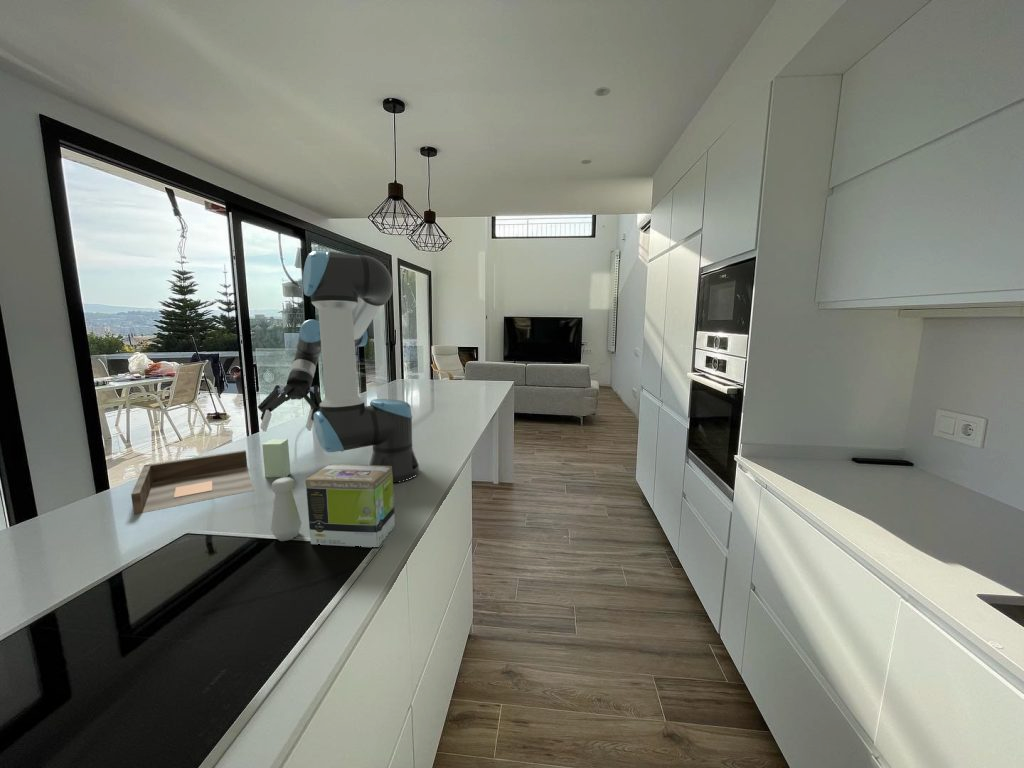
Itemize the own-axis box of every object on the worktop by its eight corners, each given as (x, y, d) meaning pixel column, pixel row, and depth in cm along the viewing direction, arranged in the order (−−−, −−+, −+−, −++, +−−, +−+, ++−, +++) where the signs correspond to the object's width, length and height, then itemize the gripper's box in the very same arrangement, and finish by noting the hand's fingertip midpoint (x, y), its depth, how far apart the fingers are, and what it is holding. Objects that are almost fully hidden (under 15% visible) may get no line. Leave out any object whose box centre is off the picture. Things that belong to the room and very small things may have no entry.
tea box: (396, 526, 94) (393, 464, 92) (377, 550, 84) (374, 481, 82) (334, 522, 95) (330, 461, 93) (308, 545, 85) (303, 478, 83)
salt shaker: (281, 546, 85) (276, 487, 83) (266, 538, 88) (261, 481, 86) (307, 534, 90) (303, 478, 88) (293, 527, 93) (288, 472, 91)
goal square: (212, 490, 110) (212, 490, 110) (173, 498, 105) (173, 497, 105) (212, 481, 116) (212, 480, 116) (175, 488, 112) (175, 487, 111)
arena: (253, 493, 110) (251, 472, 110) (134, 518, 96) (131, 494, 96) (247, 468, 130) (245, 450, 129) (146, 485, 116) (144, 465, 115)
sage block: (290, 473, 125) (287, 439, 124) (283, 479, 120) (280, 444, 119) (273, 474, 125) (270, 439, 123) (265, 480, 120) (262, 444, 118)
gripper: (341, 381, 146) (330, 434, 133) (267, 382, 143) (249, 435, 131) (335, 368, 140) (323, 422, 127) (258, 369, 137) (238, 423, 125)
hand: (285, 429), depth 129 cm, fingers open, 13 cm apart
